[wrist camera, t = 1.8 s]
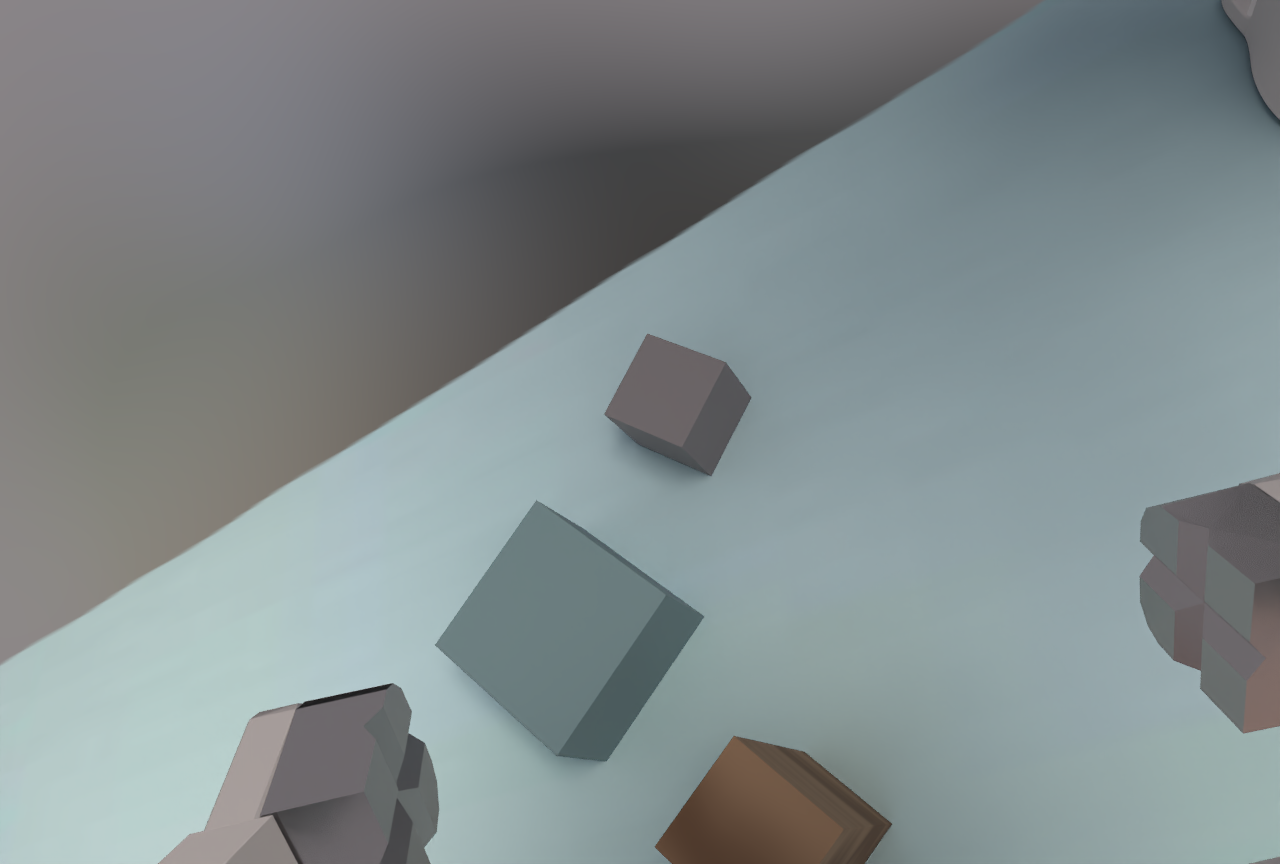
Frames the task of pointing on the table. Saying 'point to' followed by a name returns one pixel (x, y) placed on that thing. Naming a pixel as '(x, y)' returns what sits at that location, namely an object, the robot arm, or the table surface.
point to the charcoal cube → (679, 403)
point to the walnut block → (771, 813)
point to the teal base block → (568, 635)
